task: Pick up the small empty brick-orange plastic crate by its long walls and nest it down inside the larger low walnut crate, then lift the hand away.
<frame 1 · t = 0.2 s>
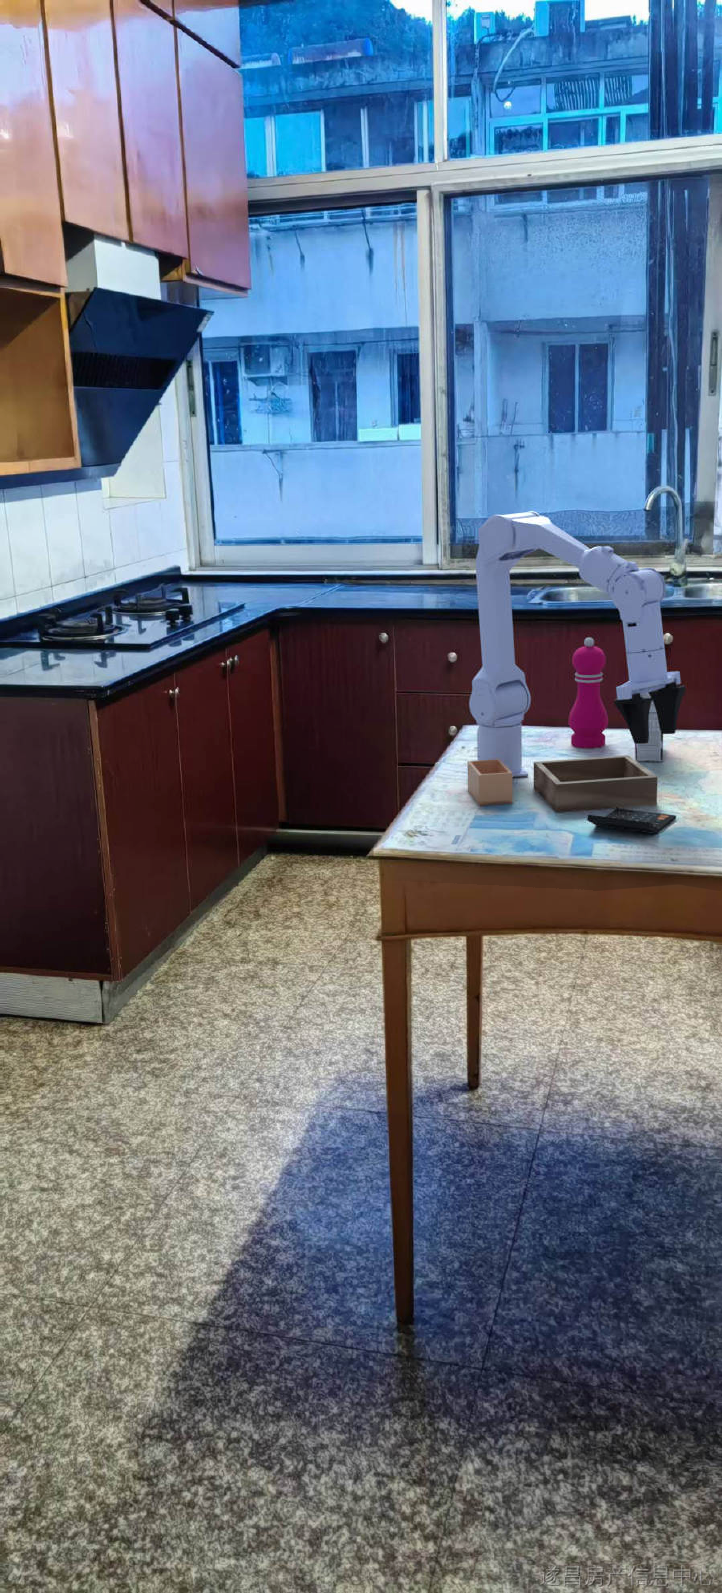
hand: (655, 738, 193), 11 cm above the table, tool pointing down, fingers open, 7 cm apart
pepper mill: (588, 745, 234), on the table
calculator: (631, 828, 186), on the table
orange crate: (489, 796, 204), on the table
candy bar box: (647, 755, 225), on the table
walnut crate: (593, 796, 201), on the table
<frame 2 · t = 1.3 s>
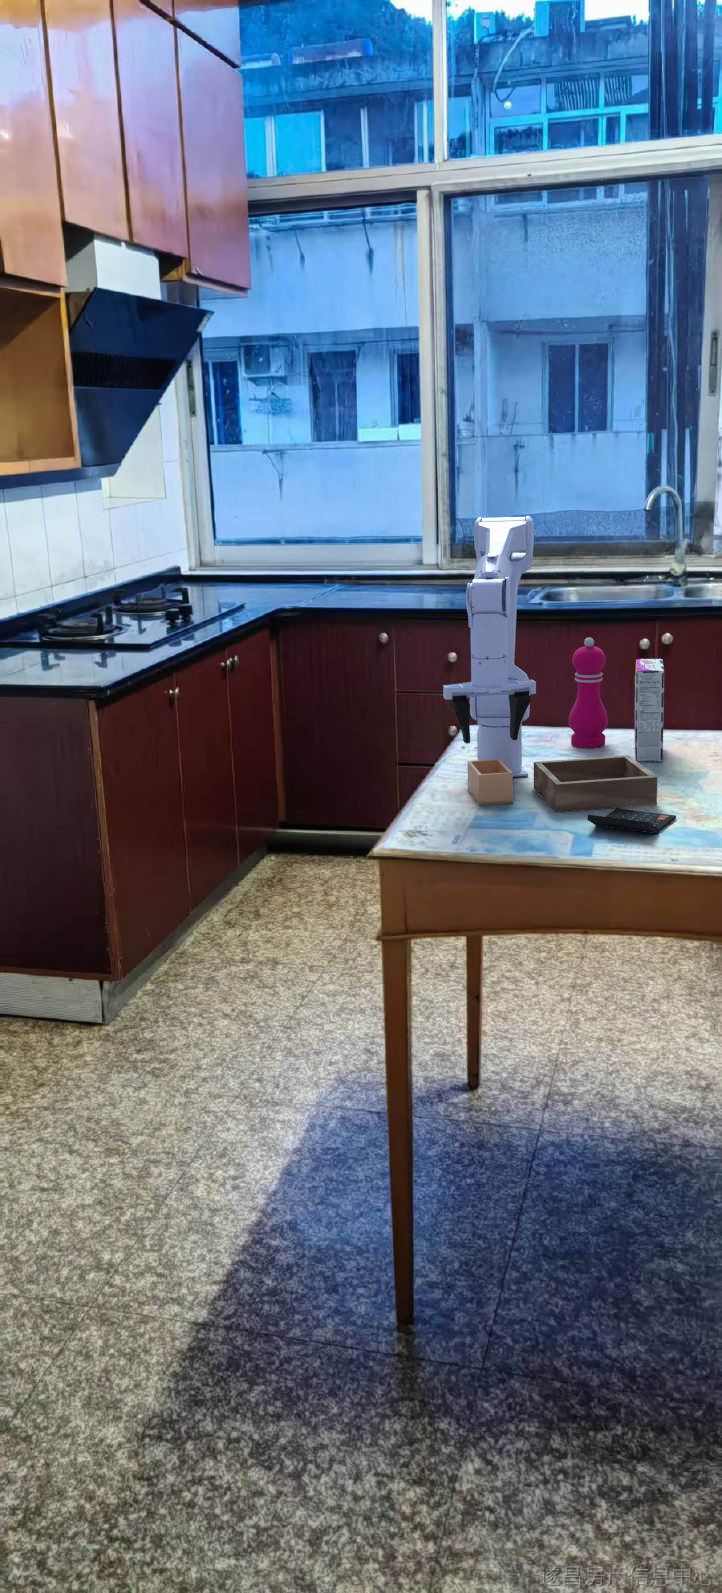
hand: (490, 740, 201), 9 cm above the table, tool pointing down, fingers open, 7 cm apart
nothing on the table moved.
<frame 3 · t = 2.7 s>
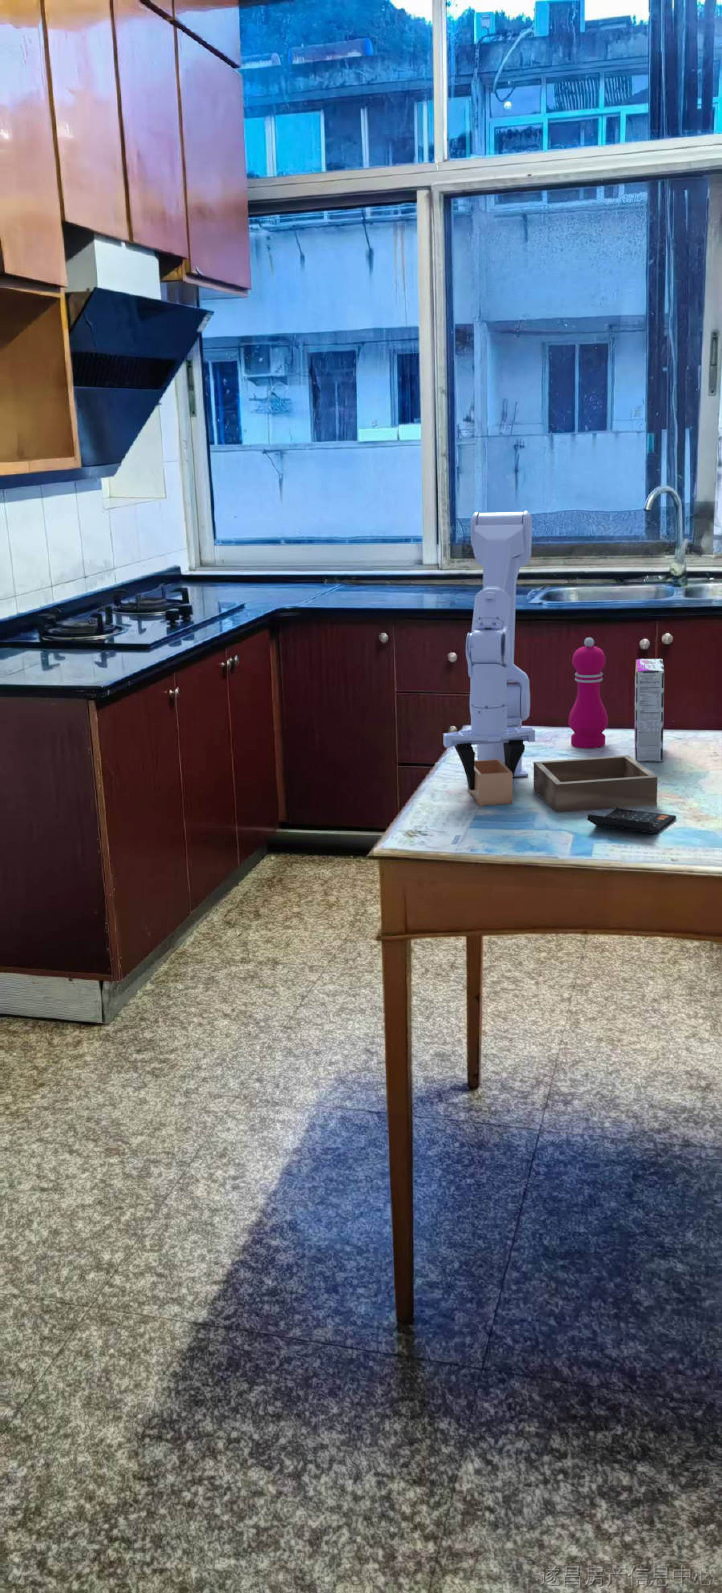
hand: (489, 787, 203), 2 cm above the table, tool pointing down, fingers closed on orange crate, 5 cm apart
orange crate: (489, 796, 204), on the table, touching gripper
everything else where it was.
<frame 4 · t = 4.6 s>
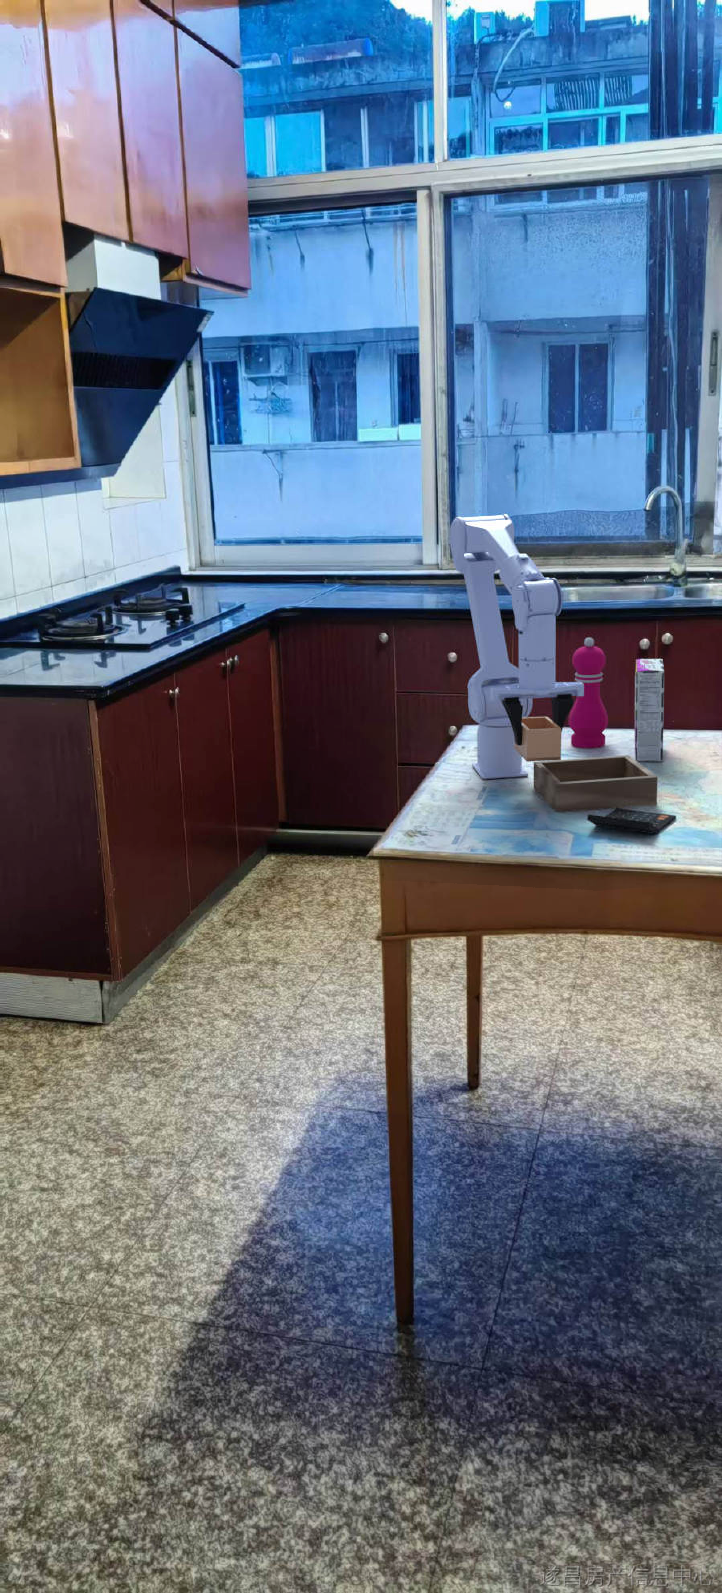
hand: (537, 742, 200), 9 cm above the table, tool pointing down, fingers closed on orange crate, 5 cm apart
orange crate: (537, 753, 200), point 7 cm above the table, touching gripper
everything else where it was.
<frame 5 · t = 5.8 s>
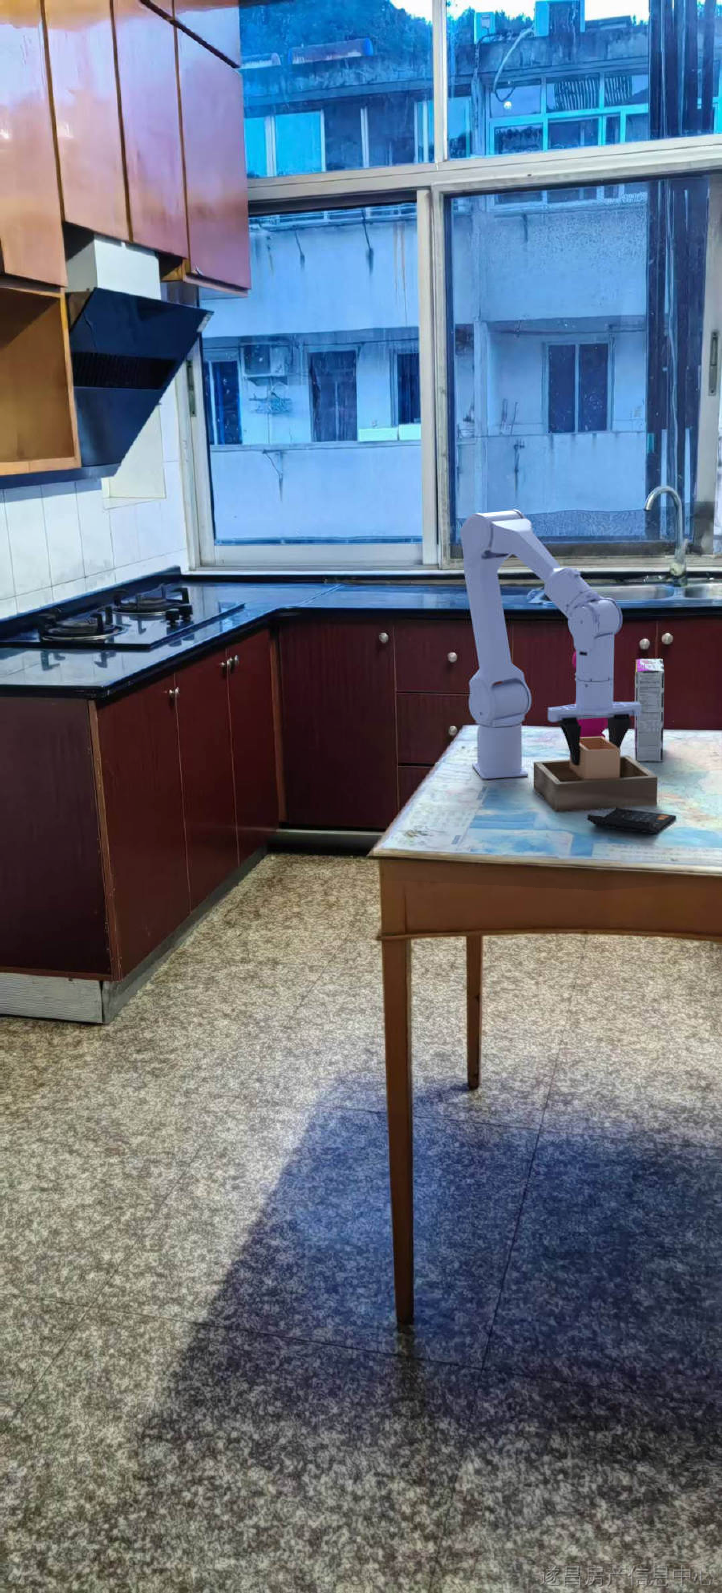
hand: (593, 762, 200), 6 cm above the table, tool pointing down, fingers closed on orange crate, 5 cm apart
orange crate: (593, 774, 200), point 4 cm above the table, touching gripper
everything else where it was.
when the fingers open (3 cm above the table, at t = 6.7 s): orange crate stays where it is, resting on walnut crate.
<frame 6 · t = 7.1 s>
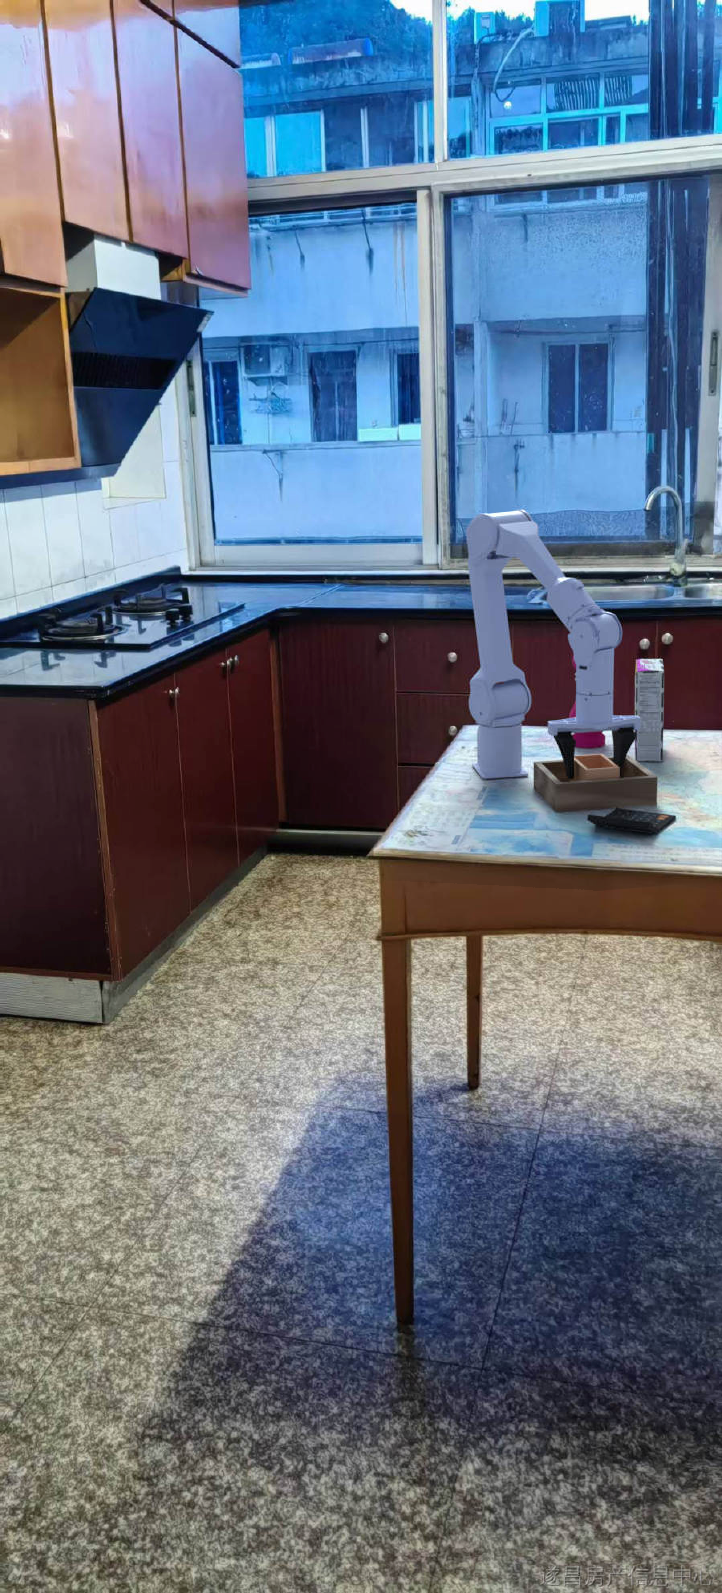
hand: (593, 775, 201), 3 cm above the table, tool pointing down, fingers open, 7 cm apart
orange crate: (593, 791, 201), point 1 cm above the table, touching walnut crate
everything else where it was.
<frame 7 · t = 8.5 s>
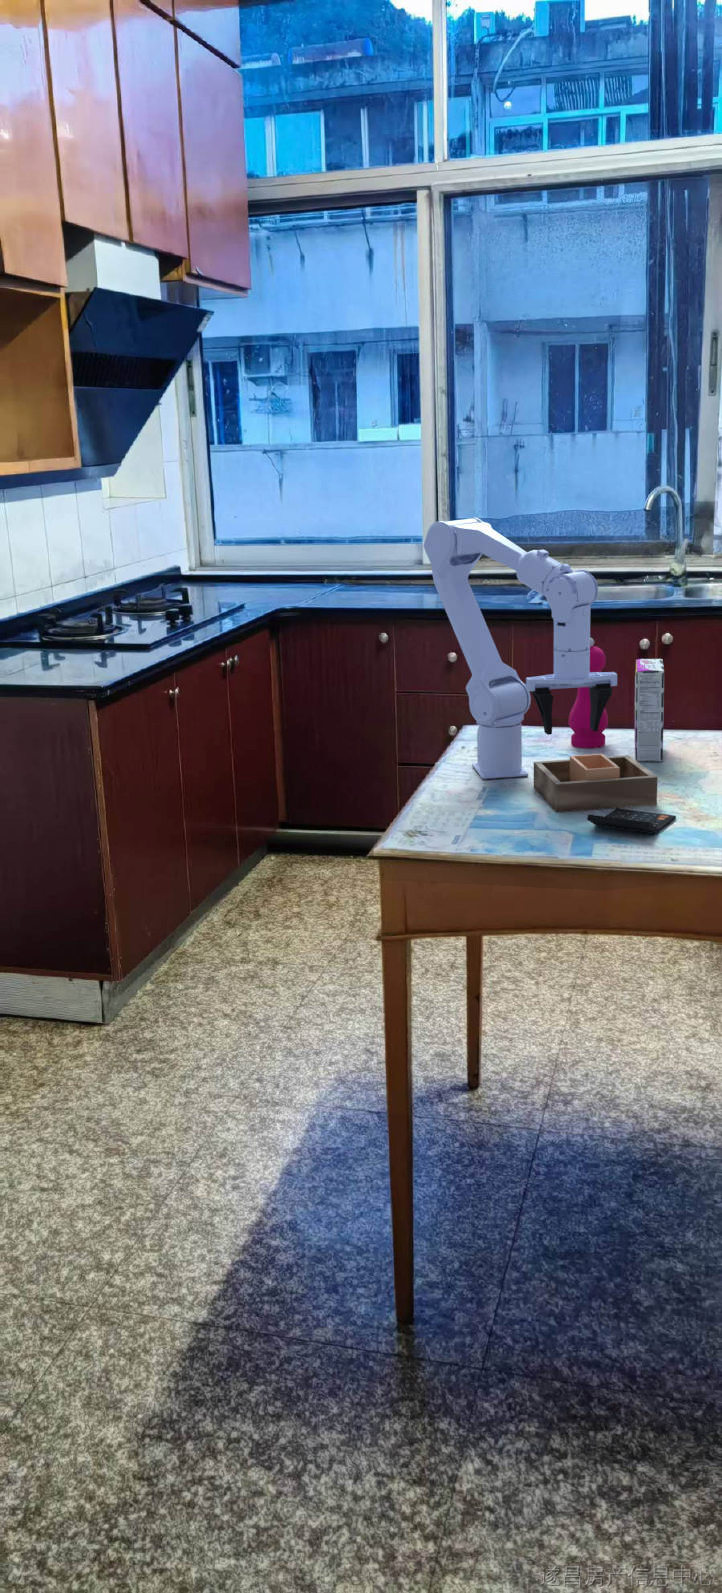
hand: (571, 731, 204), 9 cm above the table, tool pointing down, fingers open, 7 cm apart
nothing on the table moved.
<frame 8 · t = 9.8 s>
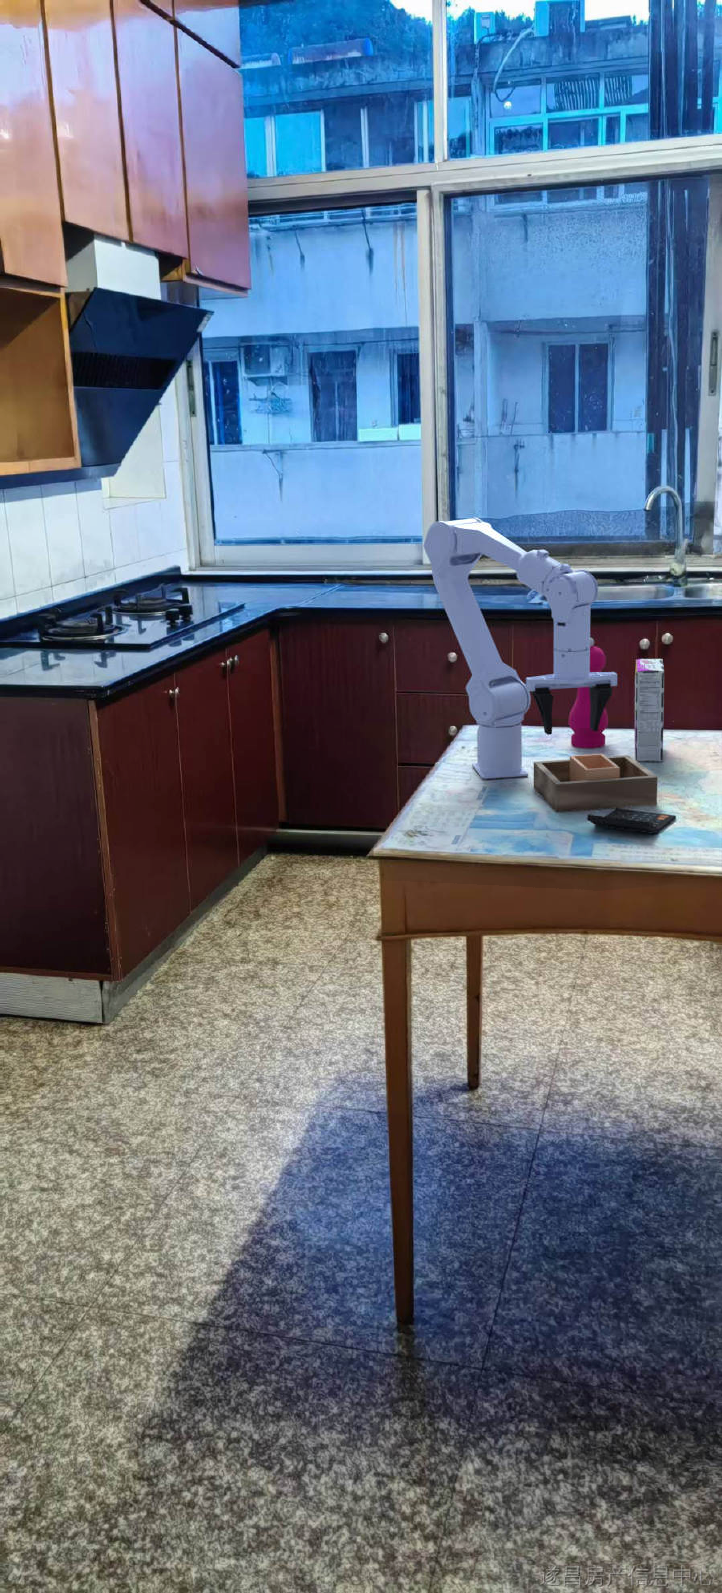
hand: (571, 731, 204), 9 cm above the table, tool pointing down, fingers open, 7 cm apart
nothing on the table moved.
at the end: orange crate inside the target area on the walnut crate (0.2 cm from its centre), point 0.8 cm above the walnut crate's base; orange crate tilted 0°; the gripper is holding nothing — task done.
